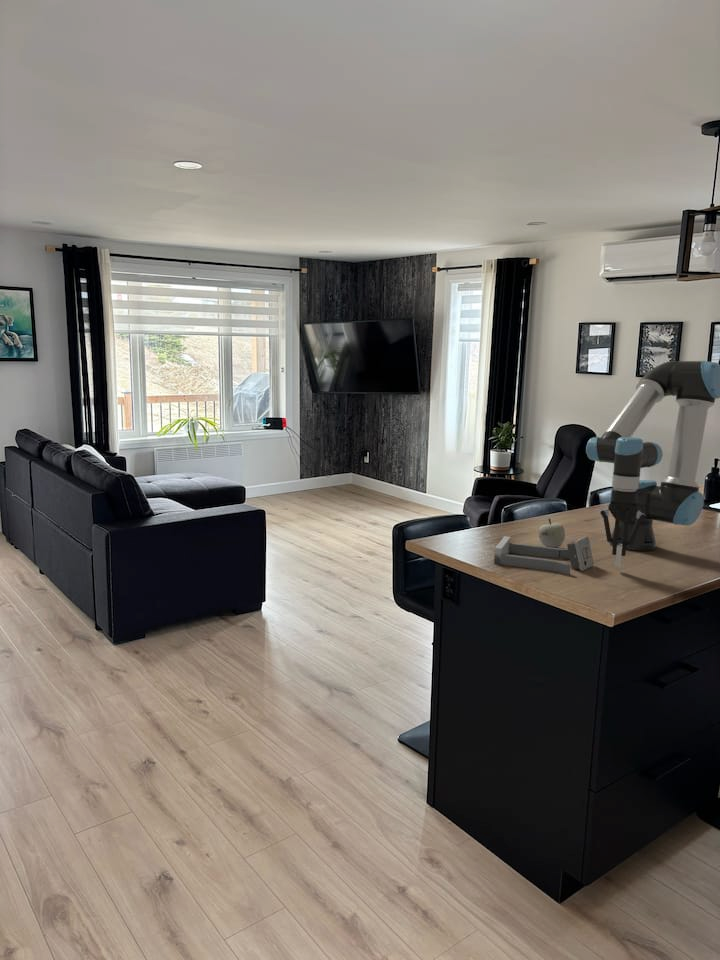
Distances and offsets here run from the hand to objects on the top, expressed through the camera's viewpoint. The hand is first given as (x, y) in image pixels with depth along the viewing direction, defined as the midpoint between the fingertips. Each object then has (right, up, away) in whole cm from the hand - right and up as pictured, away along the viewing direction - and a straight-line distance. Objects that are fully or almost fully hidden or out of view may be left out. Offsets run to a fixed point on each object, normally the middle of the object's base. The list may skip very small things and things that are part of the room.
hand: (617, 565), depth 215 cm
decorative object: (-13, +3, +27) cm, 30 cm away
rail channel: (-23, 0, +9) cm, 25 cm away
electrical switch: (-10, -1, +4) cm, 11 cm away
